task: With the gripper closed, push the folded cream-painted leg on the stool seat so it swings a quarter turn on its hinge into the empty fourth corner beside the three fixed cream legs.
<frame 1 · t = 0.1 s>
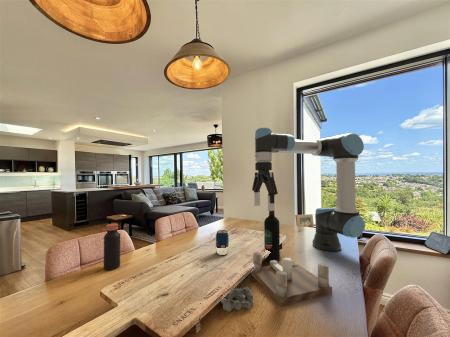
hand: (263, 208, 94), 28 cm above the table, fingers open, 13 cm apart
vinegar: (112, 267, 96), on the table
hinged leg: (280, 263, 85), point 7 cm above the table, hinge at 0.0°
egg carton: (236, 304, 69), on the table
wine bottle: (272, 259, 104), on the table
soda can: (222, 253, 112), on the table
stool seat: (288, 283, 81), on the table
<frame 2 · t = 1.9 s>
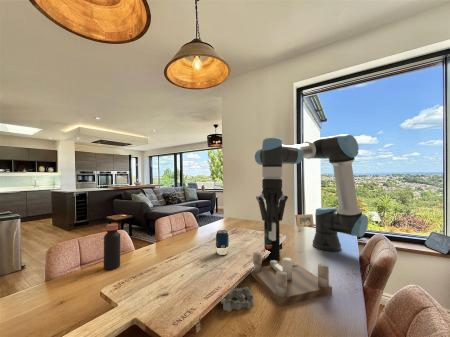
hand: (272, 239, 78), 19 cm above the table, fingers closed
nothing on the table moved.
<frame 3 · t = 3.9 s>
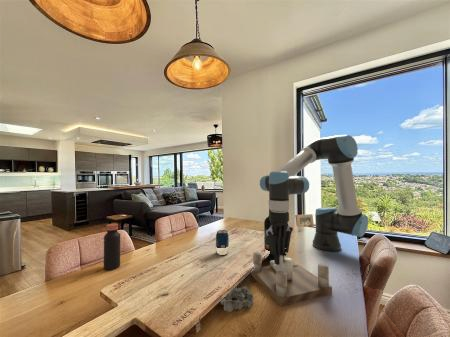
hand: (279, 271, 79), 6 cm above the table, fingers closed
hinged leg: (280, 263, 85), point 7 cm above the table, hinge at 1.2°, touching gripper
everything else where it was.
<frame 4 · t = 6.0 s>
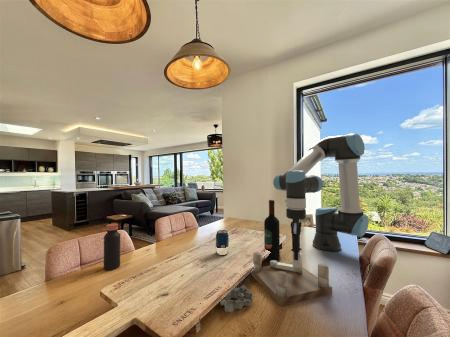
hand: (296, 266, 82), 6 cm above the table, fingers closed
hinged leg: (285, 260, 88), point 6 cm above the table, hinge at 48.7°, touching gripper
everything else where it was.
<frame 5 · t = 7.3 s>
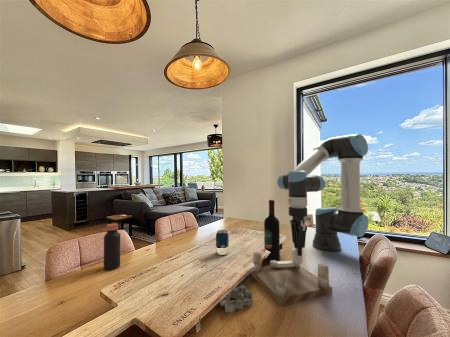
hand: (298, 262, 87), 6 cm above the table, fingers closed
hinged leg: (285, 257, 90), point 7 cm above the table, hinge at 75.6°, touching gripper
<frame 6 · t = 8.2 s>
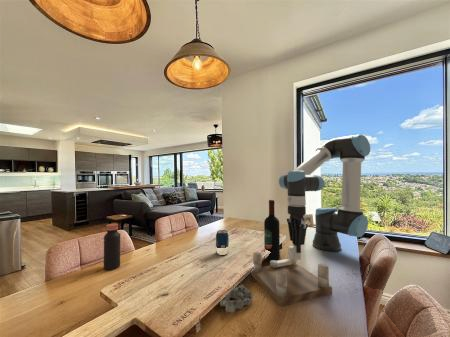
hand: (297, 259, 90), 6 cm above the table, fingers closed
hinged leg: (283, 256, 92), point 7 cm above the table, hinge at 92.0°, touching gripper
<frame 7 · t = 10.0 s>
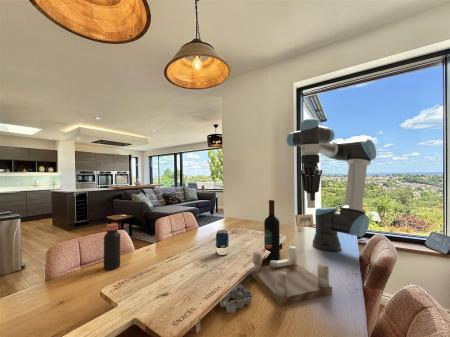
hand: (311, 207, 90), 29 cm above the table, fingers closed
hinged leg: (283, 256, 91), point 7 cm above the table, hinge at 91.1°
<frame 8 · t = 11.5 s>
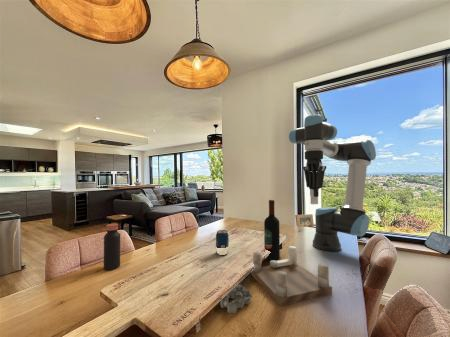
hand: (314, 203, 90), 30 cm above the table, fingers closed
at the end: hinged leg at +91° (first picture: +0°) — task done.
